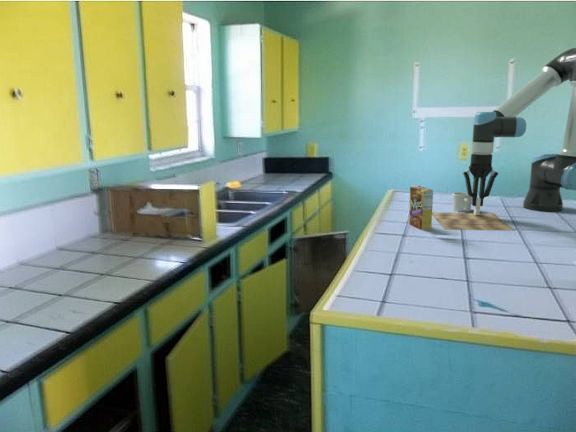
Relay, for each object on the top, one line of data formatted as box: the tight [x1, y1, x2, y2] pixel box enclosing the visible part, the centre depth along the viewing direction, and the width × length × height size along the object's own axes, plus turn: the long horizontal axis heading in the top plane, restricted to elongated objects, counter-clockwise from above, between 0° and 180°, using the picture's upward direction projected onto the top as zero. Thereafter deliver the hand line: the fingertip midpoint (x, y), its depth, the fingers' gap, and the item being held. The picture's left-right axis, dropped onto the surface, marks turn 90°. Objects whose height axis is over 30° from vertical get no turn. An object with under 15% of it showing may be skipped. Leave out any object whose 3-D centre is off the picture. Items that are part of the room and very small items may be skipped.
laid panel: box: [435, 219, 516, 232], centre depth 182 cm, size 24×16×1 cm, turn 85°
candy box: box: [408, 185, 434, 231], centre depth 178 cm, size 9×4×15 cm, turn 17°
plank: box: [432, 212, 502, 220], centre depth 194 cm, size 24×8×1 cm, turn 85°
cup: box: [451, 191, 472, 213], centre depth 204 cm, size 11×8×8 cm
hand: (476, 214), depth 195 cm, fingers closed
